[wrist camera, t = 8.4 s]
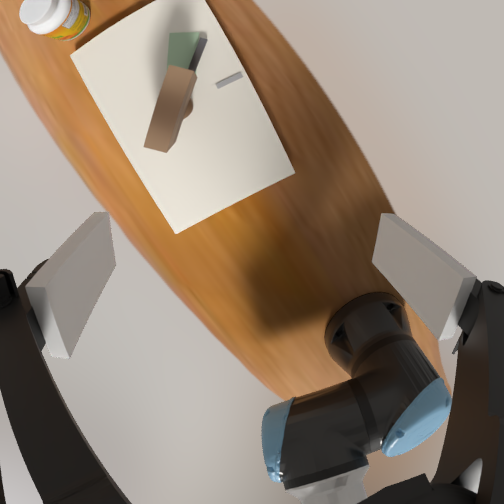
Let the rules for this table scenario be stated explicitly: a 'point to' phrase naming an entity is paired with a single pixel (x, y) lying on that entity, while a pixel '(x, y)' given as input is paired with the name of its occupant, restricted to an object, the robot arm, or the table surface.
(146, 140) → the brown handled block
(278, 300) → the table surface
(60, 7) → the supplement bottle
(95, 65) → the dial board
